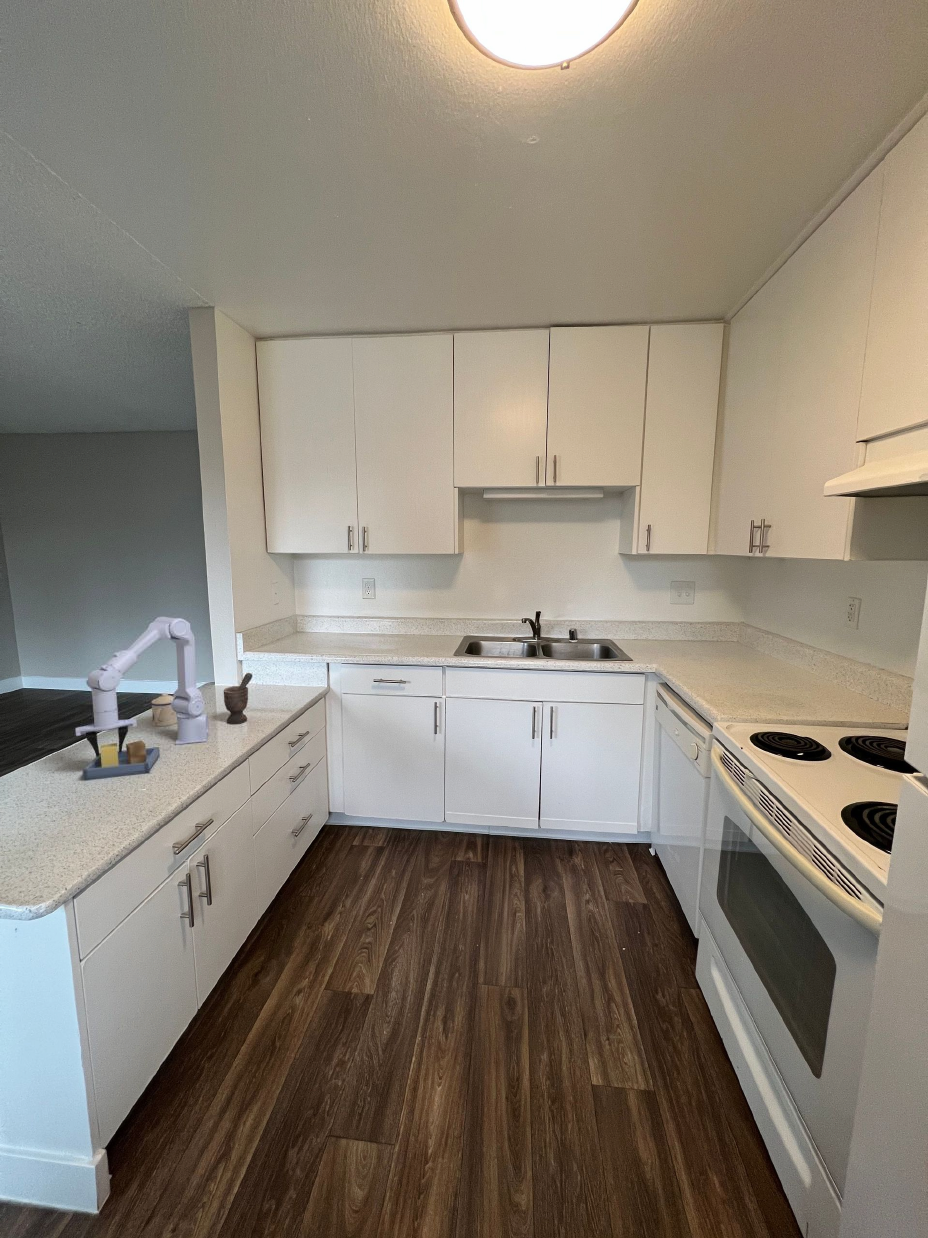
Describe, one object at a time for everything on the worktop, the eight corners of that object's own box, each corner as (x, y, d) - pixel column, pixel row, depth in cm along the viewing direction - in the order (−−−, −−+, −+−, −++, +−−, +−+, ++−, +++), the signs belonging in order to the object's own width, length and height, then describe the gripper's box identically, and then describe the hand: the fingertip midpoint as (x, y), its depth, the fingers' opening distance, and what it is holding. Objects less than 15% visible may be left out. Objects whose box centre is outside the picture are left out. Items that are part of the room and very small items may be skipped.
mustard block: (118, 761, 148) (116, 743, 148) (118, 766, 145) (117, 747, 144) (102, 764, 146) (100, 745, 145) (102, 769, 143) (100, 750, 142)
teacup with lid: (158, 719, 189) (156, 690, 187) (183, 718, 191) (182, 689, 189) (144, 730, 177) (142, 699, 176) (171, 729, 179) (169, 698, 177)
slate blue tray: (159, 755, 155) (159, 747, 155) (148, 773, 143) (148, 763, 143) (100, 762, 150) (99, 753, 150) (83, 780, 138) (82, 770, 138)
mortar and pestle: (260, 717, 193) (258, 669, 190) (252, 725, 184) (250, 674, 182) (230, 717, 192) (228, 668, 190) (221, 725, 184) (218, 674, 181)
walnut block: (142, 758, 151) (141, 740, 150) (146, 762, 148) (145, 743, 147) (127, 762, 148) (126, 744, 147) (131, 766, 145) (129, 747, 144)
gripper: (134, 702, 150) (137, 744, 152) (75, 710, 142) (79, 754, 144) (135, 708, 145) (138, 751, 147) (73, 717, 136) (77, 762, 138)
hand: (109, 753), depth 145 cm, fingers open, 5 cm apart
